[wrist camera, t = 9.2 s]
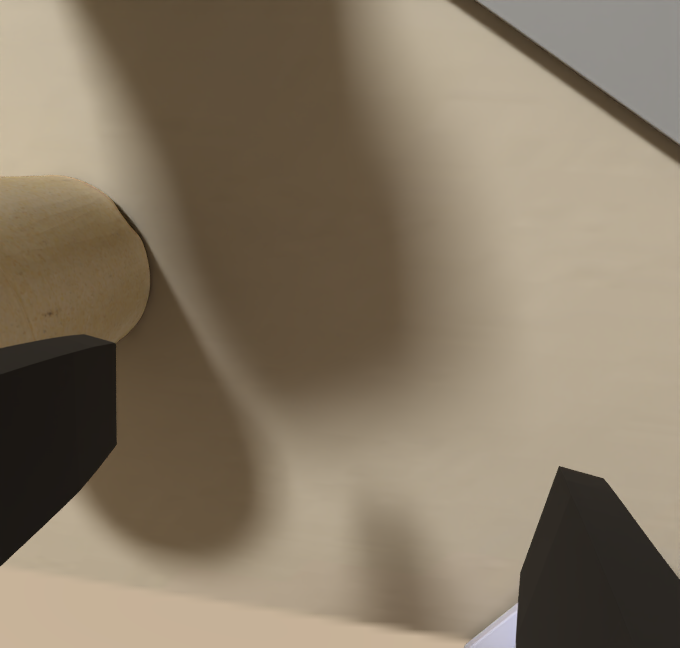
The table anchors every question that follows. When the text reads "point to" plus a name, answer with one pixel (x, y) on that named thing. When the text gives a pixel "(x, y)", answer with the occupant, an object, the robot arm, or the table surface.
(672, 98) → the plate
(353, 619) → the table surface
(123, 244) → the flower pot
